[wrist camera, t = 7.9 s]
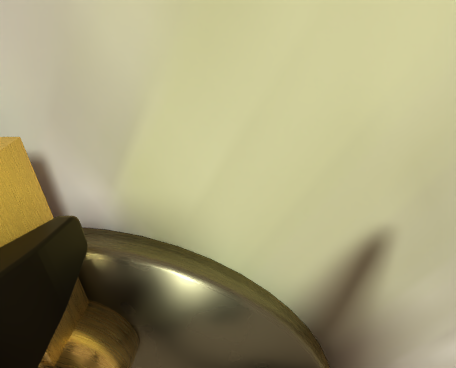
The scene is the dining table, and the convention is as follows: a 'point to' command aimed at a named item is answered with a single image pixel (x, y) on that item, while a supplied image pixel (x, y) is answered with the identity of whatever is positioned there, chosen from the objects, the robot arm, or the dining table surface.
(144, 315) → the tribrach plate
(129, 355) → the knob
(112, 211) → the dining table surface
